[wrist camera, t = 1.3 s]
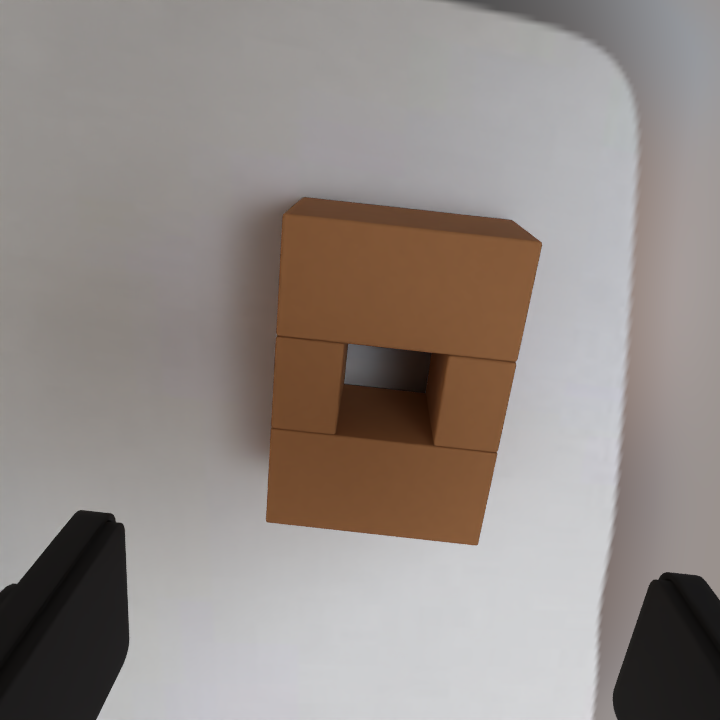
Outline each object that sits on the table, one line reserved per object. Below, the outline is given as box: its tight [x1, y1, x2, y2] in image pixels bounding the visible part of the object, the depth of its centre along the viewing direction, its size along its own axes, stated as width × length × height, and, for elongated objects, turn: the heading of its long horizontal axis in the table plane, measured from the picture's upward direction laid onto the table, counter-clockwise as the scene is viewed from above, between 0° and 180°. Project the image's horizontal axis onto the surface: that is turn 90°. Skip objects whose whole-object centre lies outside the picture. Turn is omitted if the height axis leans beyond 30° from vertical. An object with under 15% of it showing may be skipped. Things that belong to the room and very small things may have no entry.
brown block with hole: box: [266, 197, 542, 545], centre depth 20 cm, size 10×7×4 cm
